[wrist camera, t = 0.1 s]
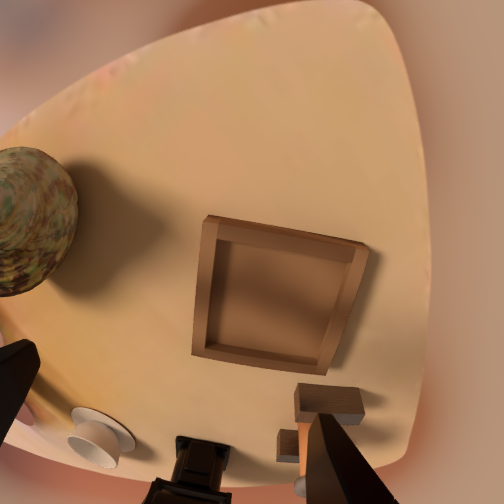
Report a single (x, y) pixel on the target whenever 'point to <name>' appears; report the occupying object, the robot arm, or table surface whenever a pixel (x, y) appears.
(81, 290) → the table surface
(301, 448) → the pin
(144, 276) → the table surface
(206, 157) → the table surface
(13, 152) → the seashell
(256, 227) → the tray
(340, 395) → the hitch bracket
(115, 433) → the teacup
